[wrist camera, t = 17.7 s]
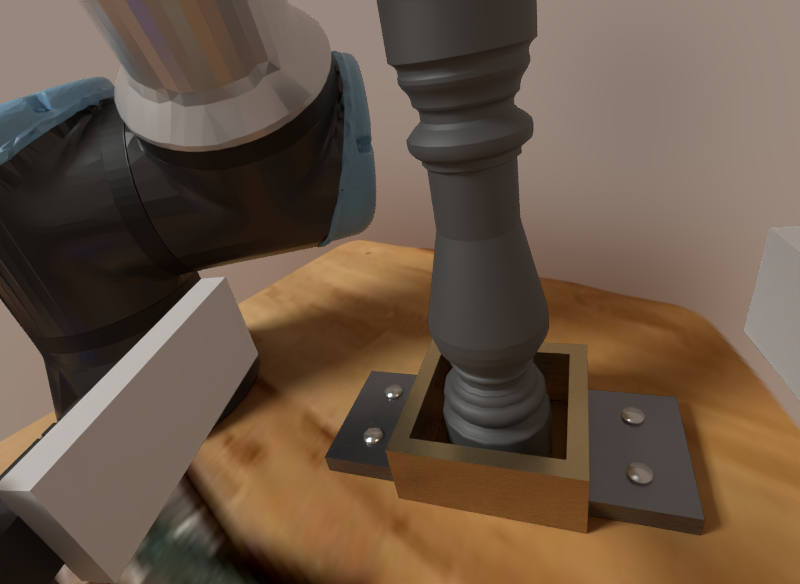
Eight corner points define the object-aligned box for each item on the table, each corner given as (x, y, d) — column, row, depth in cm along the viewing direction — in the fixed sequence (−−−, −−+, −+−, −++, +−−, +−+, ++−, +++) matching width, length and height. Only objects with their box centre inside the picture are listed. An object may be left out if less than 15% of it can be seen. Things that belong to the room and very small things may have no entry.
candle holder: (487, 393, 32) (439, -37, 20) (571, 432, 28) (578, -79, 16) (429, 451, 29) (328, -25, 16) (515, 506, 25) (468, -74, 12)
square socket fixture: (322, 483, 28) (304, 438, 26) (379, 374, 36) (368, 333, 34) (705, 556, 21) (720, 501, 19) (671, 399, 29) (679, 349, 27)
